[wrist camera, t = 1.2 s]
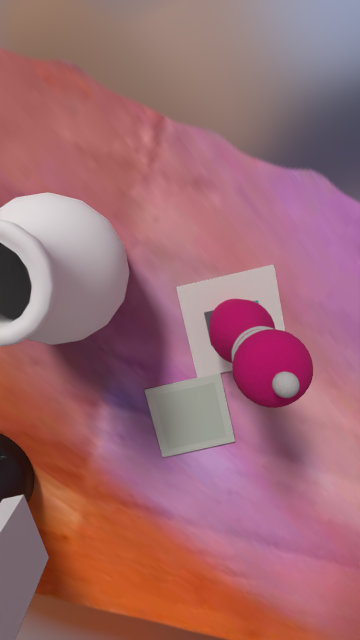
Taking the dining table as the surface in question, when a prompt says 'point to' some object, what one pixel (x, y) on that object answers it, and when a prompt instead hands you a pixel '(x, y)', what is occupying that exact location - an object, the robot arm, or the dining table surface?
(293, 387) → the pepper mill
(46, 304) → the vase
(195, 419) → the coaster
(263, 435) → the dining table surface
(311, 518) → the dining table surface
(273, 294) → the tile
